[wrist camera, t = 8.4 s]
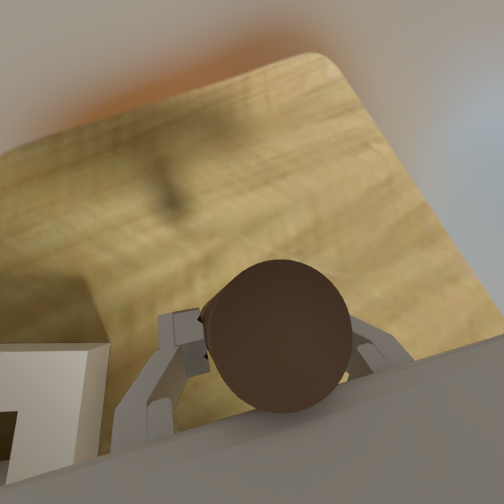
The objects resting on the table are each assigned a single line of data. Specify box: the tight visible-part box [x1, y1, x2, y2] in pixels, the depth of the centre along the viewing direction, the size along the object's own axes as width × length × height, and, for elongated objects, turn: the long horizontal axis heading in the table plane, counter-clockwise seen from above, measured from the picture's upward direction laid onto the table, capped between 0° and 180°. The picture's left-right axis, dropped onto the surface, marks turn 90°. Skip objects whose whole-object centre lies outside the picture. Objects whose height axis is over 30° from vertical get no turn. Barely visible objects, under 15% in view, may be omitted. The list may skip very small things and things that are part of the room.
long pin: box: [200, 260, 352, 413], centre depth 12 cm, size 3×3×12 cm
